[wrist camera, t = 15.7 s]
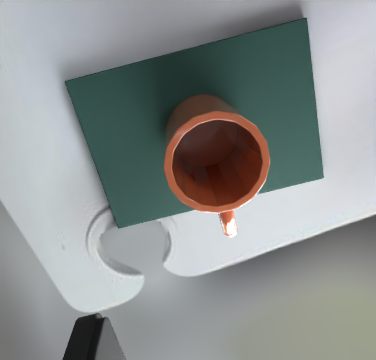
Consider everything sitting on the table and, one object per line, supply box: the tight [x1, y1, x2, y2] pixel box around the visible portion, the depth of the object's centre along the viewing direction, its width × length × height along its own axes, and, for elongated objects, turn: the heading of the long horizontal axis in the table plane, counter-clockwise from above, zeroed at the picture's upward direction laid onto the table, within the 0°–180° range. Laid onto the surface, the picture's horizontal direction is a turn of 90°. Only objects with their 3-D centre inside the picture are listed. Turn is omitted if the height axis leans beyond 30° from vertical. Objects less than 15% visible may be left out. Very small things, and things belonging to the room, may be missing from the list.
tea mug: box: [164, 94, 270, 237], centre depth 26 cm, size 10×7×9 cm
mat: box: [65, 18, 324, 228], centre depth 30 cm, size 20×14×1 cm
